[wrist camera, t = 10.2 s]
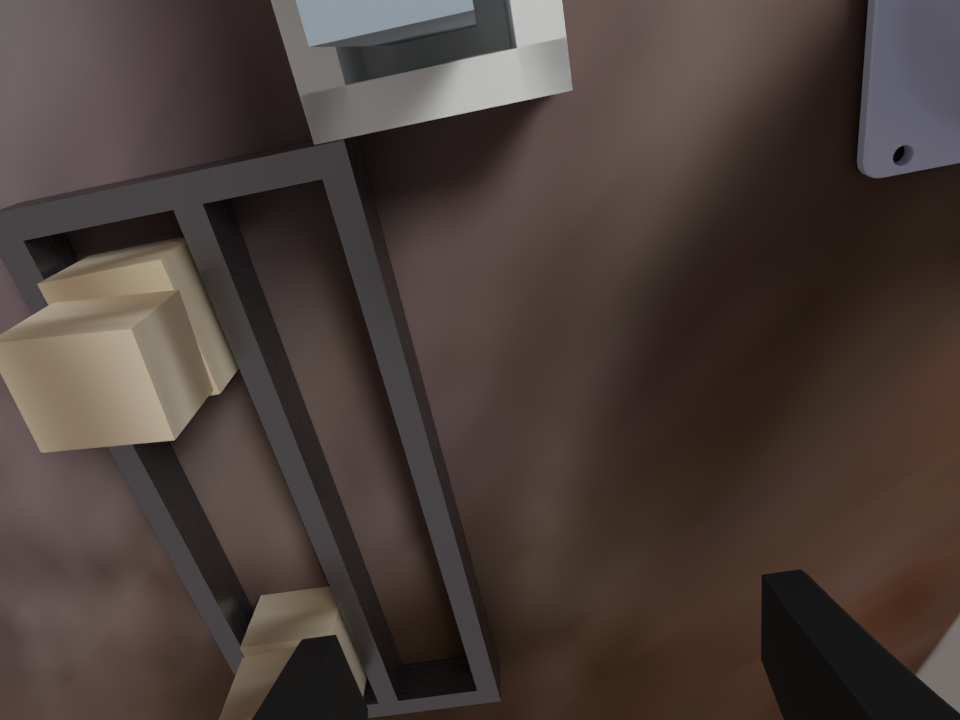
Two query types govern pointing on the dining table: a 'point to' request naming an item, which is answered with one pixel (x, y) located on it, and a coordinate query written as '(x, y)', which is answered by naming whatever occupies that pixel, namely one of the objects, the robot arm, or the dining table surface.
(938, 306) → the dining table surface
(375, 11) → the chamfered blue-grey beam
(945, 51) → the robot arm
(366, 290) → the rack
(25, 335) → the birch offcut stack
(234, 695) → the birch offcut
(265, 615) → the birch offcut
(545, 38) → the holder
